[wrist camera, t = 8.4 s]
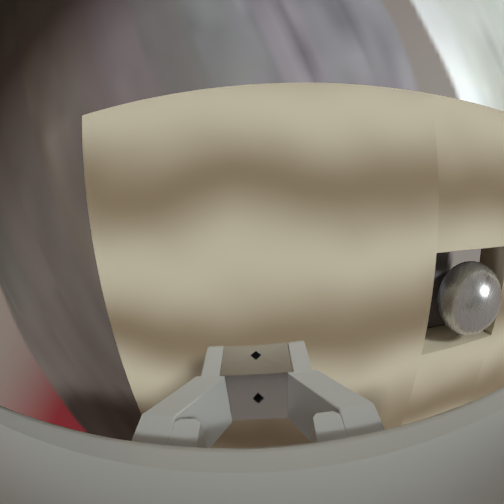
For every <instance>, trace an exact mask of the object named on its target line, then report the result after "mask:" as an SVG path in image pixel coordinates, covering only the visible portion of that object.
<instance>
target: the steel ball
mask: <svg viewBox="0 0 504 504" xmlns="http://www.w3.org/2000/svg"><path fill="white" fill-rule="evenodd" d="M501 299H502V293H501V287H500V283H499V280H498V278H497V276H496V275H495V273H494V272H493V271H492V270H491V269H490V268H489V267H487V266H486V265H484V264H482V263H479V262H475V261H468V262H463V263H460V264H458V265H456V266H455V267H453V268H452V269H451V270H449V271H448V273H447V274H446V275H445V276H444V278H443V280H442V281H441V284H440V286H439V290H438V295H437V305H438V311H439V314H440V316H441V318H442V320H443V322H444V323H445V324H446V325H447V326H448V327H449V328H450V329H451V330H453V331H455V332H457V333H459V334H464V335H471V334H476V333H479V332H481V331H483V330H484V329H486V328H487V327H488V326H489V325H490V324H491V323H492V322H493V321H494V319H495V318H496V316H497V314H498V312H499V309H500V306H501Z"/></svg>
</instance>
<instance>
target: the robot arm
mask: <svg viewBox="0 0 504 504" xmlns="http://www.w3.org/2000/svg"><path fill="white" fill-rule="evenodd" d="M287 417H288V419H289V420H290V421H291V422H292V423H293V424H294V425H295V426H296V427H297V428H298V429H299V430H300V431H301V432H302V433H303V434H304V435H305V436H306V437H307V438H308V439H309V440H310V441H311V443H306V444H297V445H286V446H273V447H255V448H210V447H211V446H212V445H213V444H214V443H215V442H216V441H217V439H218V438H219V437H220V436H221V435H222V434H223V432H224V431H225V430H226V429H227V428H228V426H229V425H230V424H231V423H232V420H249V419H268V418H287ZM0 504H504V387H503V388H501V389H498V390H496V391H494V392H492V393H490V394H488V395H485V396H483V397H481V398H478V399H476V400H474V401H471V402H469V403H466V404H464V405H461V406H459V407H456V408H453V409H451V410H448V411H445V412H442V413H439V414H436V415H434V416H431V417H427V418H424V419H421V420H418V421H415V422H411V423H408V424H404V425H401V426H397V427H393V428H389V429H385V428H384V426H383V424H382V421H381V419H380V417H379V415H378V412H377V410H376V408H375V406H374V404H373V403H372V402H371V401H369V400H367V399H365V398H364V397H362V396H360V395H358V394H357V393H355V392H353V391H352V390H350V389H348V388H346V387H345V386H343V385H341V384H340V383H338V382H336V381H335V380H333V379H331V378H330V377H328V376H326V375H325V374H323V373H322V372H320V371H318V370H312V367H311V363H310V360H309V356H308V353H307V349H306V345H305V342H304V341H303V340H302V341H294V342H288V343H277V344H266V345H238V346H209V347H208V348H207V352H206V356H205V360H204V364H203V368H202V373H201V376H196V377H195V378H193V379H192V380H190V381H189V382H188V383H186V384H185V385H184V386H182V387H181V388H179V389H178V390H177V391H175V392H174V393H172V394H171V395H169V396H168V397H167V398H165V399H164V400H162V401H161V402H159V403H158V404H157V405H155V406H154V407H152V408H151V409H149V410H148V411H146V412H145V413H143V414H142V416H141V418H140V421H139V423H138V426H137V428H136V431H135V433H134V436H133V438H132V441H128V440H122V439H116V438H110V437H105V436H100V435H95V434H90V433H86V432H81V431H77V430H73V429H69V428H65V427H62V426H58V425H55V424H51V423H48V422H44V421H41V420H38V419H35V418H32V417H29V416H26V415H23V414H20V413H18V412H15V411H12V410H10V409H7V408H4V407H2V406H0Z"/></svg>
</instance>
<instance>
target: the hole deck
mask: <svg viewBox="0 0 504 504" xmlns="http://www.w3.org/2000/svg"><path fill="white" fill-rule="evenodd" d="M82 140H83V161H84V175H85V186H86V196H87V205H88V213H89V220H90V227H91V234H92V240H93V246H94V252H95V257H96V262H97V267H98V272H99V277H100V282H101V286H102V291H103V295H104V299H105V303H106V307H107V311H108V315H109V319H110V323H111V326H112V330H113V334H114V337H115V340H116V344H117V347H118V350H119V354H120V357H121V360H122V363H123V366H124V369H125V372H126V375H127V378H128V381H129V383H130V386H131V389H132V392H133V394H134V397H135V400H136V402H137V405H138V407H139V410H140V412H141V415H142V414H143V413H145V412H146V411H148V410H149V409H151V408H152V407H154V406H155V405H157V404H158V403H159V402H161V401H162V400H164V399H165V398H167V397H168V396H169V395H171V394H172V393H174V392H175V391H177V390H178V389H179V388H181V387H182V386H184V385H185V384H186V383H188V382H189V381H190V380H192V379H193V378H195V377H196V376H201V373H202V368H203V364H204V360H205V356H206V352H207V348H208V347H209V346H238V345H266V344H277V343H288V342H294V341H302V340H303V341H304V342H305V345H306V349H307V353H308V356H309V360H310V363H311V367H312V370H318V371H320V372H322V373H323V374H325V375H326V376H328V377H330V378H331V379H333V380H335V381H336V382H338V383H340V384H341V385H343V386H345V387H346V388H348V389H350V390H352V391H353V392H355V393H357V394H358V395H360V396H362V397H364V398H365V399H367V400H369V401H371V402H372V403H373V404H374V406H375V408H376V410H377V412H378V415H379V417H380V419H381V421H382V424H383V426H384V428H385V429H389V428H393V427H397V426H401V425H404V424H408V423H411V422H415V421H418V420H421V419H424V418H427V417H431V416H434V415H436V414H439V413H442V412H445V411H448V410H451V409H453V408H456V407H459V406H461V405H464V404H466V403H469V402H471V401H474V400H476V399H478V398H481V397H483V396H485V395H488V394H490V393H492V392H494V391H496V390H498V389H501V388H503V387H504V112H503V111H500V110H497V109H493V108H490V107H486V106H483V105H479V104H475V103H471V102H467V101H463V100H459V99H454V98H449V97H445V96H440V95H434V94H429V93H423V92H417V91H411V90H404V89H396V88H388V87H379V86H368V85H355V84H338V83H270V84H252V85H239V86H228V87H219V88H210V89H202V90H195V91H188V92H182V93H176V94H170V95H165V96H159V97H154V98H149V99H144V100H140V101H135V102H131V103H127V104H123V105H119V106H115V107H111V108H107V109H103V110H100V111H96V112H93V113H89V114H86V115H83V116H82ZM473 249H481V255H480V263H482V264H484V265H486V266H487V267H489V268H490V269H491V270H492V271H493V272H494V273H495V275H496V276H497V278H498V280H499V283H500V287H501V293H502V299H501V306H500V309H499V312H498V314H497V316H496V318H495V319H494V321H493V322H492V323H491V324H490V325H489V326H488V327H487V328H486V329H484V330H483V331H481V332H479V333H476V334H471V335H464V334H459V333H457V332H455V331H453V330H451V329H450V328H449V327H448V326H447V325H441V326H437V327H432V328H427V324H428V319H429V313H430V306H431V299H432V292H433V284H434V276H435V266H436V254H437V253H442V252H453V251H462V250H473ZM306 443H311V441H310V440H309V439H308V438H307V437H306V436H305V435H304V434H303V433H302V432H301V431H300V430H299V429H298V428H297V427H296V426H295V425H294V424H293V423H292V422H291V421H290V420H289V419H288V417H287V418H268V419H249V420H232V423H231V424H230V425H229V426H228V428H227V429H226V430H225V431H224V432H223V434H222V435H221V436H220V437H219V438H218V439H217V441H216V442H215V443H214V444H213V445H212V446H211V447H210V448H255V447H273V446H286V445H297V444H306Z"/></svg>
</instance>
